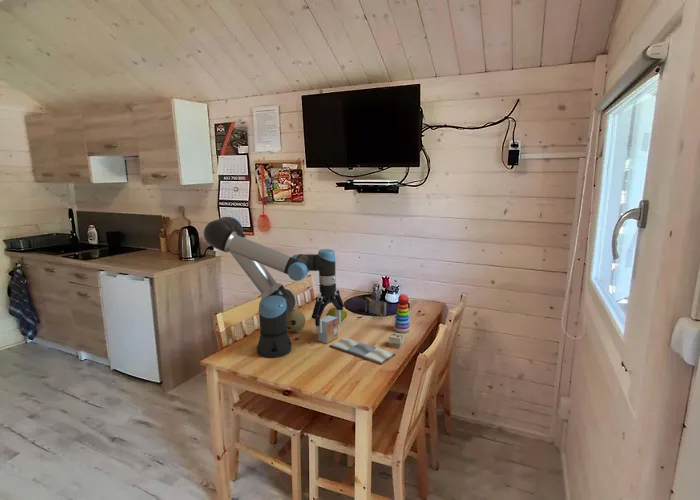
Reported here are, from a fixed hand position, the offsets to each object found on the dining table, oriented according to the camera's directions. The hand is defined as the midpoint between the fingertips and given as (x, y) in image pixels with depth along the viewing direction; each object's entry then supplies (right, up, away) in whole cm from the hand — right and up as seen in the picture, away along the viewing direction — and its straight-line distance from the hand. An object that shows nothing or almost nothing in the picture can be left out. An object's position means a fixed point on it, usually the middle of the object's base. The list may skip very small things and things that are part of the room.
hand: (328, 327), depth 193 cm
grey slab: (+24, 0, +35) cm, 42 cm away
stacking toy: (+36, -4, +13) cm, 38 cm away
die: (+31, -7, -5) cm, 32 cm away
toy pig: (-18, -4, +11) cm, 21 cm away
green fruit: (+3, -2, +22) cm, 23 cm away
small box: (0, -6, +1) cm, 6 cm away
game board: (+15, -8, -10) cm, 20 cm away
